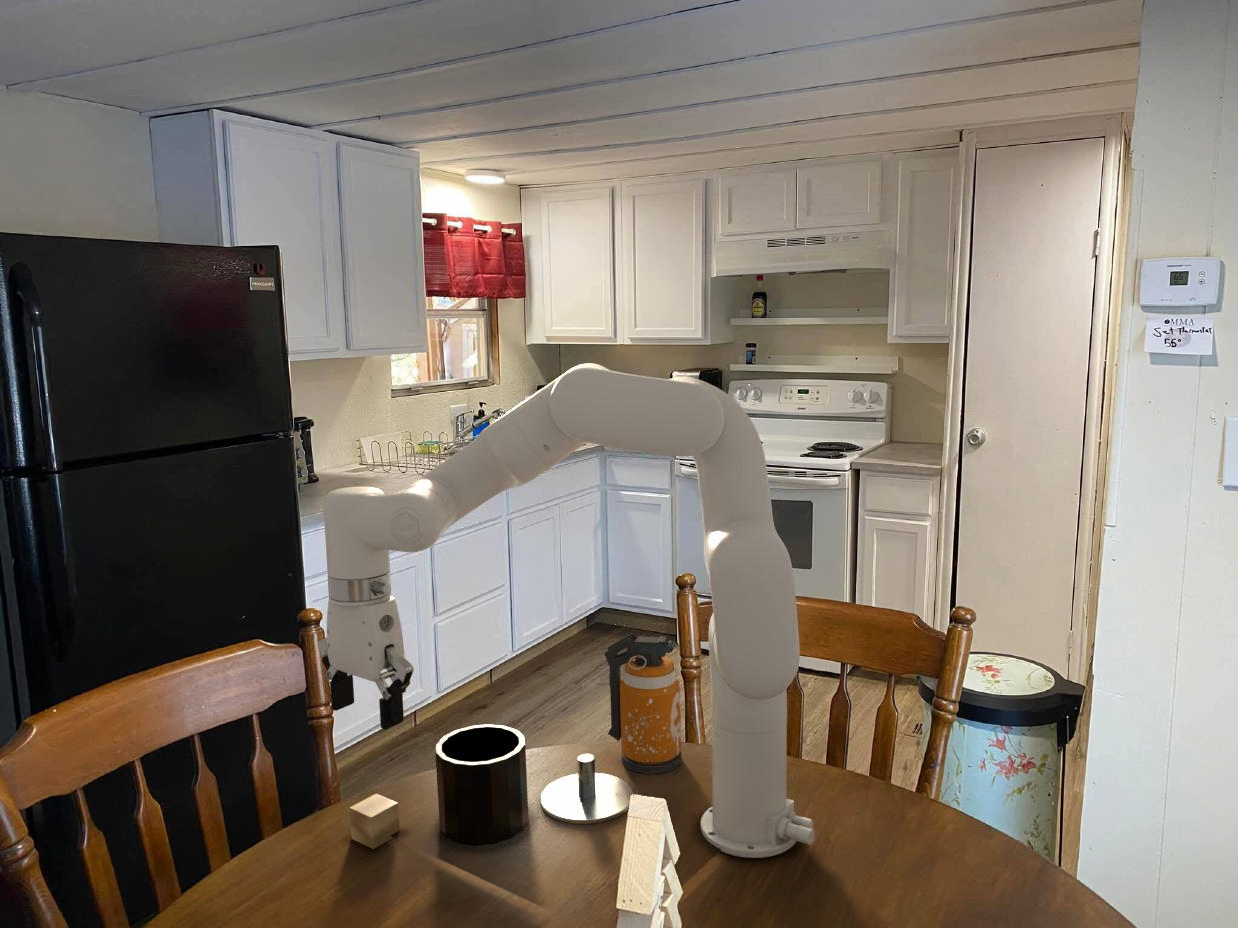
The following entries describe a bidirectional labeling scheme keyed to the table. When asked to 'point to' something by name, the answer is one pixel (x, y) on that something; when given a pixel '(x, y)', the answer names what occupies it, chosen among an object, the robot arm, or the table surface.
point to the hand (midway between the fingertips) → (367, 715)
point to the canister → (645, 703)
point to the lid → (586, 795)
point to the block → (374, 820)
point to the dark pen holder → (482, 784)
